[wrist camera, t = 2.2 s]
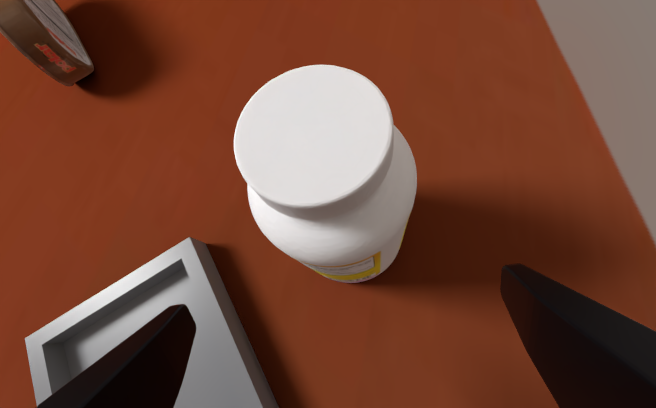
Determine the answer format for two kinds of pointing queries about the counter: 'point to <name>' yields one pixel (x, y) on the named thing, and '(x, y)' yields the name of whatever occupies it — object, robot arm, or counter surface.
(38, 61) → the tin
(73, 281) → the counter surface
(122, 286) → the tray
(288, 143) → the supplement bottle
